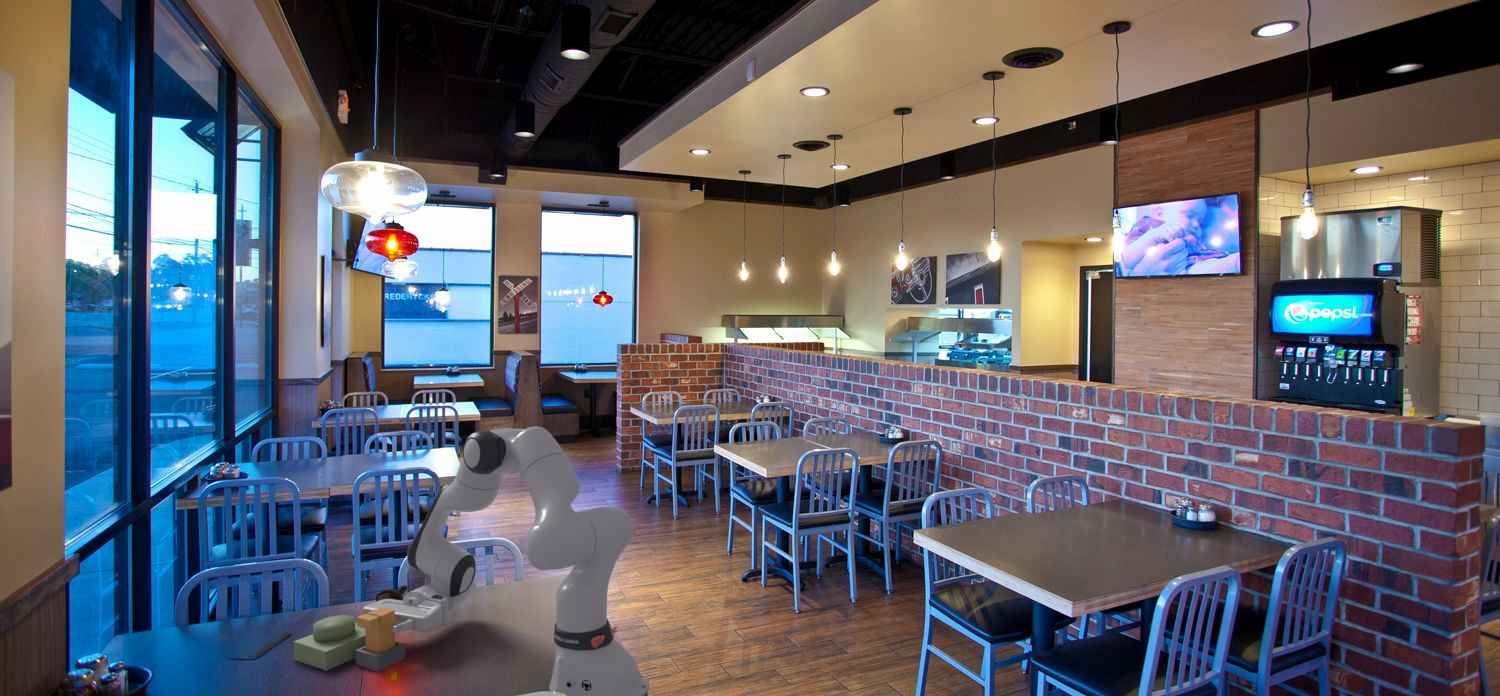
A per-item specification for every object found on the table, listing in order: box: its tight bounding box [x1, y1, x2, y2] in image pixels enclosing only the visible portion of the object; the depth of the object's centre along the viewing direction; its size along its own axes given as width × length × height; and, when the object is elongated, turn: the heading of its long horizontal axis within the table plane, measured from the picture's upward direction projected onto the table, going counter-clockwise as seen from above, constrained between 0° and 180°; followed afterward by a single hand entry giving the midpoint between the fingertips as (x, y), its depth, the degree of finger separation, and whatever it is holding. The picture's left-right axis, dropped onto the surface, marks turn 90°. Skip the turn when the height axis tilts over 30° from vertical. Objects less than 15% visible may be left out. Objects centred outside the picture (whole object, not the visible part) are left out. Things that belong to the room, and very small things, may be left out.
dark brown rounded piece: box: [374, 584, 408, 602], centre depth 211 cm, size 7×7×15 cm
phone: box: [227, 631, 292, 658], centre depth 190 cm, size 7×1×15 cm
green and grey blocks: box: [293, 614, 406, 672], centre depth 183 cm, size 23×14×8 cm, turn 63°
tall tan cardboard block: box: [356, 607, 396, 655], centre depth 181 cm, size 4×7×12 cm, turn 155°
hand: (377, 627), depth 181 cm, fingers open, 8 cm apart
